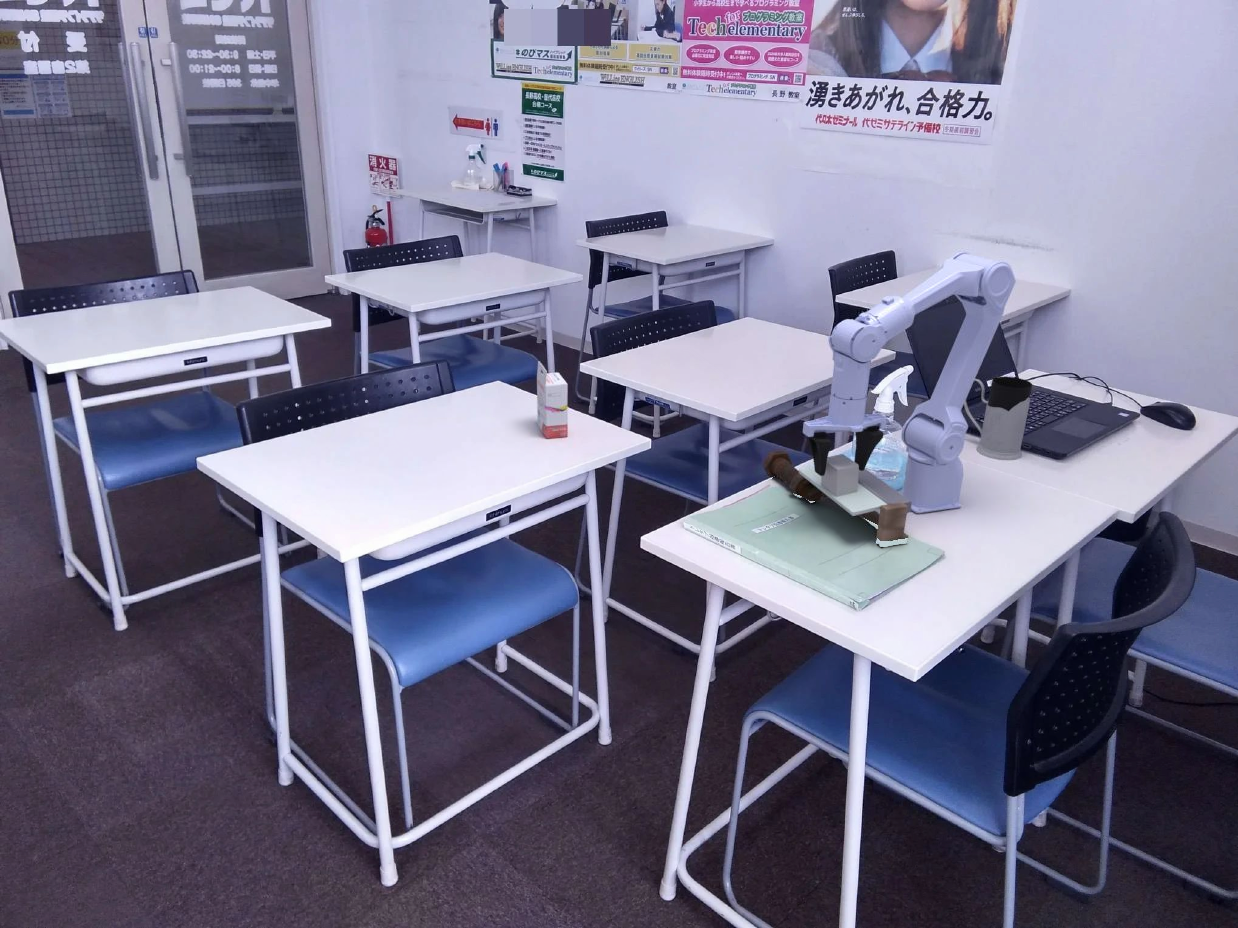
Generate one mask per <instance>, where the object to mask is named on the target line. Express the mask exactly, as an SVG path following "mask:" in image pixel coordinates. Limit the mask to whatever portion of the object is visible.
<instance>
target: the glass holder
mask: <svg viewBox="0 0 1238 928" xmlns="http://www.w3.org/2000/svg"><path fill="white" fill-rule="evenodd" d="M974 382H977V383H978V384H979V385H980V387H981V396H980V397H981V401H982V403H984V404H986V407H985V408H986V409H985V412H984V419H983V423H982V428H981V426H980V425H979V424H978V422H977V421H976V420H975V418H974V416H973V415H972V413H971V412H970V410H969V407H968V403H967V399H966V400H965V402H964V405H963V407H964V410H965V412H966V415H967V416H968V417H969V419H970V420H971V421H972V424H973V425H974V426H975V427H976V428H977V430H978V431H979V433H980V439H979V440H980V441H979V444H978V445H977V446H976V451H977V453H979V454H981V455H982V456H984V457H987V458H990V459H992V460H993V459H994V460H998V461H999V460H1001V461H1014V460H1019V459H1020V458H1022V456H1023V455H1022V451H1021V450H1022V449H1021V447H1022V444H1023V439H1024V433H1025V428H1026V423H1027V417H1028V413H1029V408H1030V404H1031V393H1032V390H1033V389H1032V388H1033V383H1032V382H1031V381H1029V380H1026V379H1023V378H1020V377H1014V376H997V377H994V378H992V379H991V385H990V390H989V395H988V400H986V399H985V392H986V391H985V389H986V388H985V385H984V383H983V382H982V381H981V380H980V379H979V378H978V379H977V378H975V379H974Z"/></svg>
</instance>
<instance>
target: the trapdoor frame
mask: <svg viewBox="0 0 1238 928" xmlns="http://www.w3.org/2000/svg"><path fill="white" fill-rule="evenodd" d="M823 497H828V496H827V495H826V494H825V493H823V495H822V498H823ZM907 509H908V506H906V505H905V504H904V503H902V502H901V503H894V504H887V505H881V508H880V510H879V512H878V511H877V510H876V511H872V512H868V513H863V514H859V516H858V517H860V516H861V517H862V518H865V519H867V520H869V521H871V522H873V523H875V524H877V525H878V529H877V530H876V537H875V539H876V538H878V539H879V540H880V541H893V540H898V539H905V538H908V539H909V535H908V534H906V532H905V527H906V520H907V515H908V513H907ZM861 517H860V518H861ZM862 518H861V519H862Z"/></svg>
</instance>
